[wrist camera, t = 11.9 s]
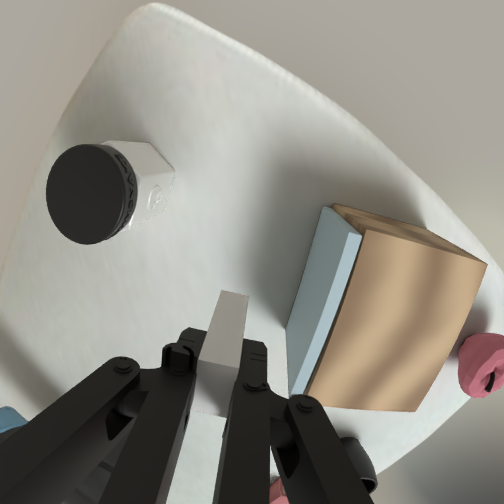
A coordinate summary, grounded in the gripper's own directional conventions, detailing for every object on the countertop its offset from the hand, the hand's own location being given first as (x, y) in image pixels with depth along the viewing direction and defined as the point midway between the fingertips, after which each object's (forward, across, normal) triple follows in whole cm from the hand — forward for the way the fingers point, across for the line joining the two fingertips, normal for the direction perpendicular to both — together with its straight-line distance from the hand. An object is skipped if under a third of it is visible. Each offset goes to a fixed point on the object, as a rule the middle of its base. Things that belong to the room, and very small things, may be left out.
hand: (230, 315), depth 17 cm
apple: (+18, +35, -8) cm, 40 cm away
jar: (+18, -13, +4) cm, 23 cm away
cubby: (+18, +14, -2) cm, 23 cm away
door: (+18, +7, -2) cm, 19 cm away
